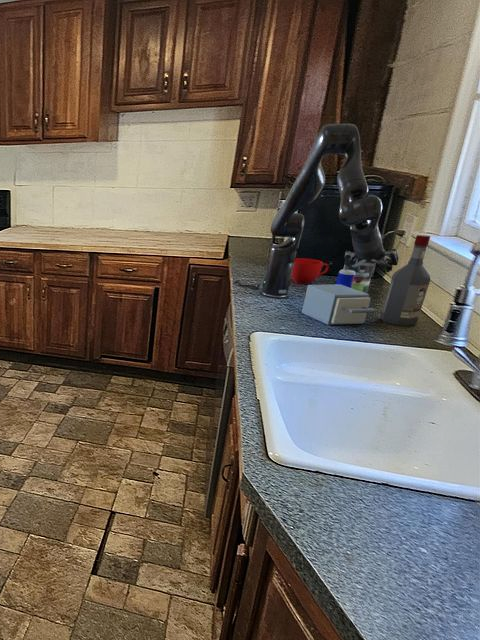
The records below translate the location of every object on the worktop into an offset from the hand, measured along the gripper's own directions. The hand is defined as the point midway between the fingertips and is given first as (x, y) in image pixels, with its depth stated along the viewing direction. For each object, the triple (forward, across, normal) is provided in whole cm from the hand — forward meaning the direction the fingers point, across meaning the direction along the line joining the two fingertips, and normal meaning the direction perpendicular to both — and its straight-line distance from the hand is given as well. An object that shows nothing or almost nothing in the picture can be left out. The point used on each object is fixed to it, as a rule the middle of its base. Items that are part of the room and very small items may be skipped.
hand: (373, 270), depth 178 cm
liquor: (+21, -6, +8) cm, 24 cm away
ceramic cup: (+49, +34, -25) cm, 65 cm away
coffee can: (+41, +14, -13) cm, 45 cm away
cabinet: (+10, +12, +14) cm, 21 cm away
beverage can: (+21, +13, +4) cm, 25 cm away
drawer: (+8, +8, +15) cm, 19 cm away
